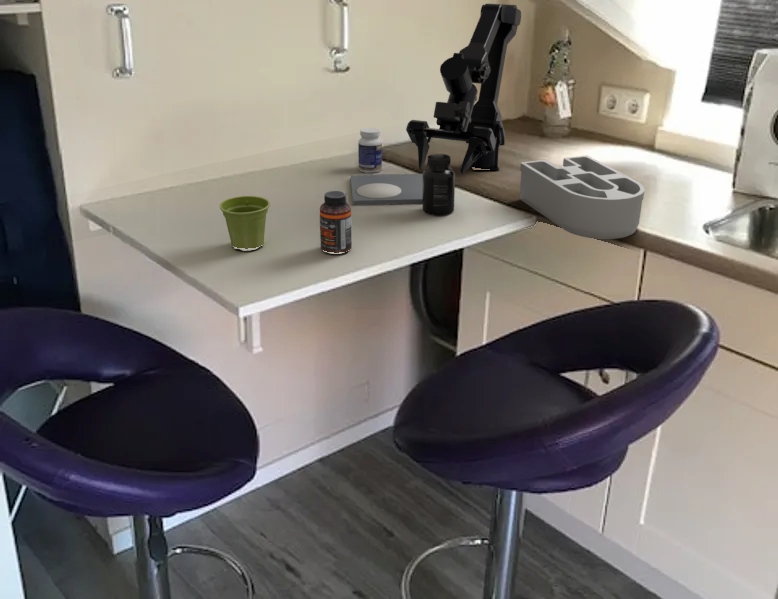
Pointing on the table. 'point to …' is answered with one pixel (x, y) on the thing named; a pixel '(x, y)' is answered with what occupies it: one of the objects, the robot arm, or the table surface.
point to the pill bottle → (370, 150)
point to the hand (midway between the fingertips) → (440, 170)
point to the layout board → (387, 189)
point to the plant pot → (245, 220)
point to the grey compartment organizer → (583, 196)
